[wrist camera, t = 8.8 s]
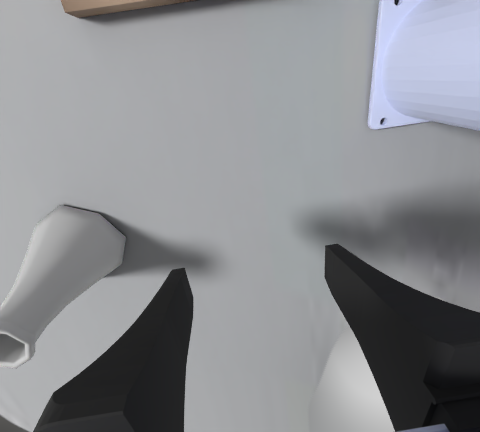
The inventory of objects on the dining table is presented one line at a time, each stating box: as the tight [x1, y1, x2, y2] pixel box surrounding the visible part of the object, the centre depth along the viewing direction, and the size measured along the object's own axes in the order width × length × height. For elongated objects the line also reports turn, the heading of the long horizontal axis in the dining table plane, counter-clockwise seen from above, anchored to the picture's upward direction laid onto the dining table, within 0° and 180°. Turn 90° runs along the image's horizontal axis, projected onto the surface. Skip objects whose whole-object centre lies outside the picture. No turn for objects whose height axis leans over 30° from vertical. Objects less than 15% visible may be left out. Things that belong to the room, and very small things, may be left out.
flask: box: [0, 205, 126, 368], centre depth 18 cm, size 7×7×10 cm
